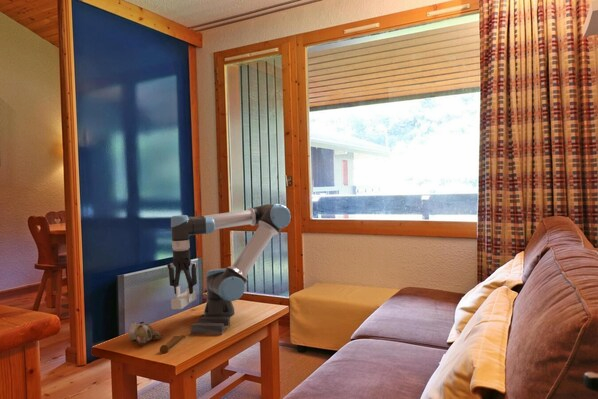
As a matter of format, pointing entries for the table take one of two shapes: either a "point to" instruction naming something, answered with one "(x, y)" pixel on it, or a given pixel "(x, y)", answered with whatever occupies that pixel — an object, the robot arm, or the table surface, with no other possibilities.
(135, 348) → the table surface
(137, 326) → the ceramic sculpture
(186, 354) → the table surface
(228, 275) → the robot arm
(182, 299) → the clay strip
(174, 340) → the primitive tool
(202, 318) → the dark grey rimmed tray
